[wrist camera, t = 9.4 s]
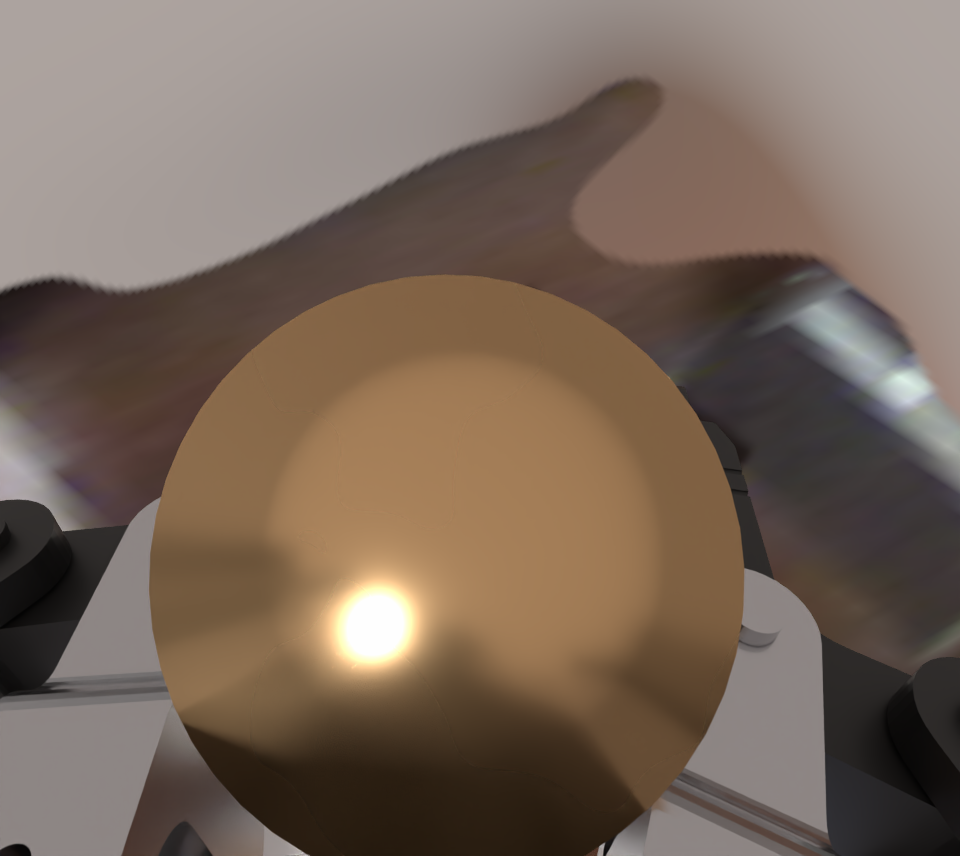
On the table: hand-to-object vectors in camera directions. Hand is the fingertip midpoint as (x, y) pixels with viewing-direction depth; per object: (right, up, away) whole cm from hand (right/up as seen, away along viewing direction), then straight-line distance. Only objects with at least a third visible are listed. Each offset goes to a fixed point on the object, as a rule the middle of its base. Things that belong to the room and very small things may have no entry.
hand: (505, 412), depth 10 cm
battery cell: (0, -3, +4) cm, 5 cm away
